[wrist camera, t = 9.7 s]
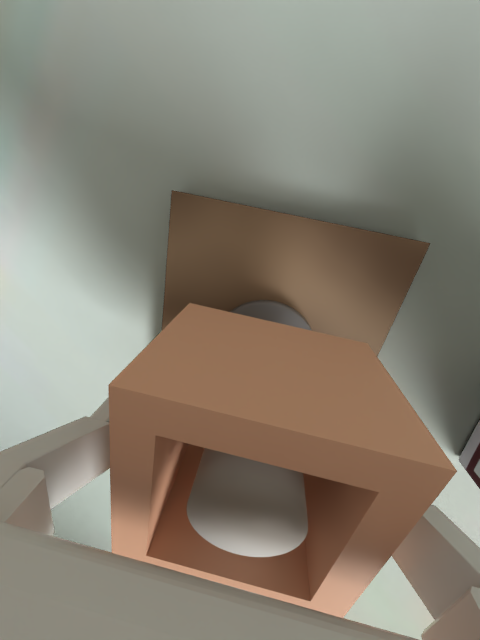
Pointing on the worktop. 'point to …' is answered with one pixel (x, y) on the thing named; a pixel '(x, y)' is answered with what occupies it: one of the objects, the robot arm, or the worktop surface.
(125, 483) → the ring
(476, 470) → the supplement box
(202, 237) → the post board
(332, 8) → the worktop surface
